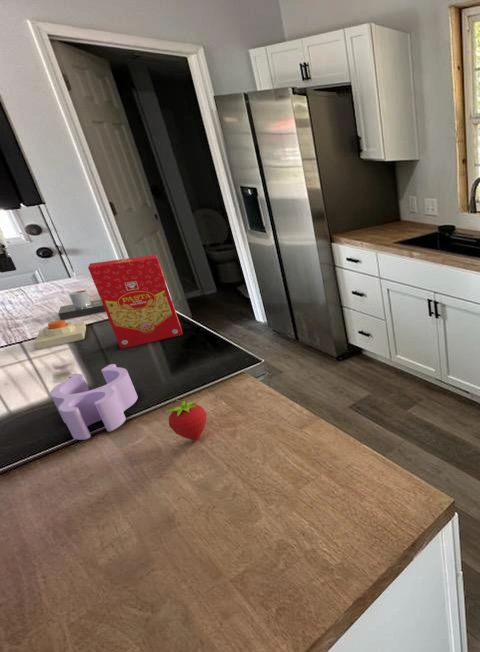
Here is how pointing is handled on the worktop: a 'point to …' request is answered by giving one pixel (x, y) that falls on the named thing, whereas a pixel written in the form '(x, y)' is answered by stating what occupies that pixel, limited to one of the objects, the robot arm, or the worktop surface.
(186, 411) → the strawberry
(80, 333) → the cream flat block
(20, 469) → the worktop surface
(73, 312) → the hob panel
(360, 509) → the worktop surface
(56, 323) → the kettle button
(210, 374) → the worktop surface
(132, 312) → the food packaging
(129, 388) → the clip
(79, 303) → the hob dial
